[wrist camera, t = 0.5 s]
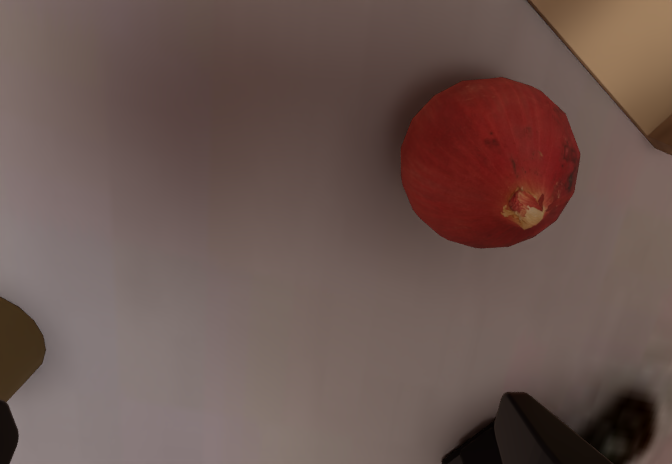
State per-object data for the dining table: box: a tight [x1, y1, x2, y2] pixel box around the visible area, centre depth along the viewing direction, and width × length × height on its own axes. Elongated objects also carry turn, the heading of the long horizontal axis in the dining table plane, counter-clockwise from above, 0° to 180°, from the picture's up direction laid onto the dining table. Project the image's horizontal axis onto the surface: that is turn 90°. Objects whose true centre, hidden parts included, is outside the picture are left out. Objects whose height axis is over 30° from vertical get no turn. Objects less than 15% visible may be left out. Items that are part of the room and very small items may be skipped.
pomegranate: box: [401, 77, 580, 248], centre depth 16 cm, size 6×6×8 cm
